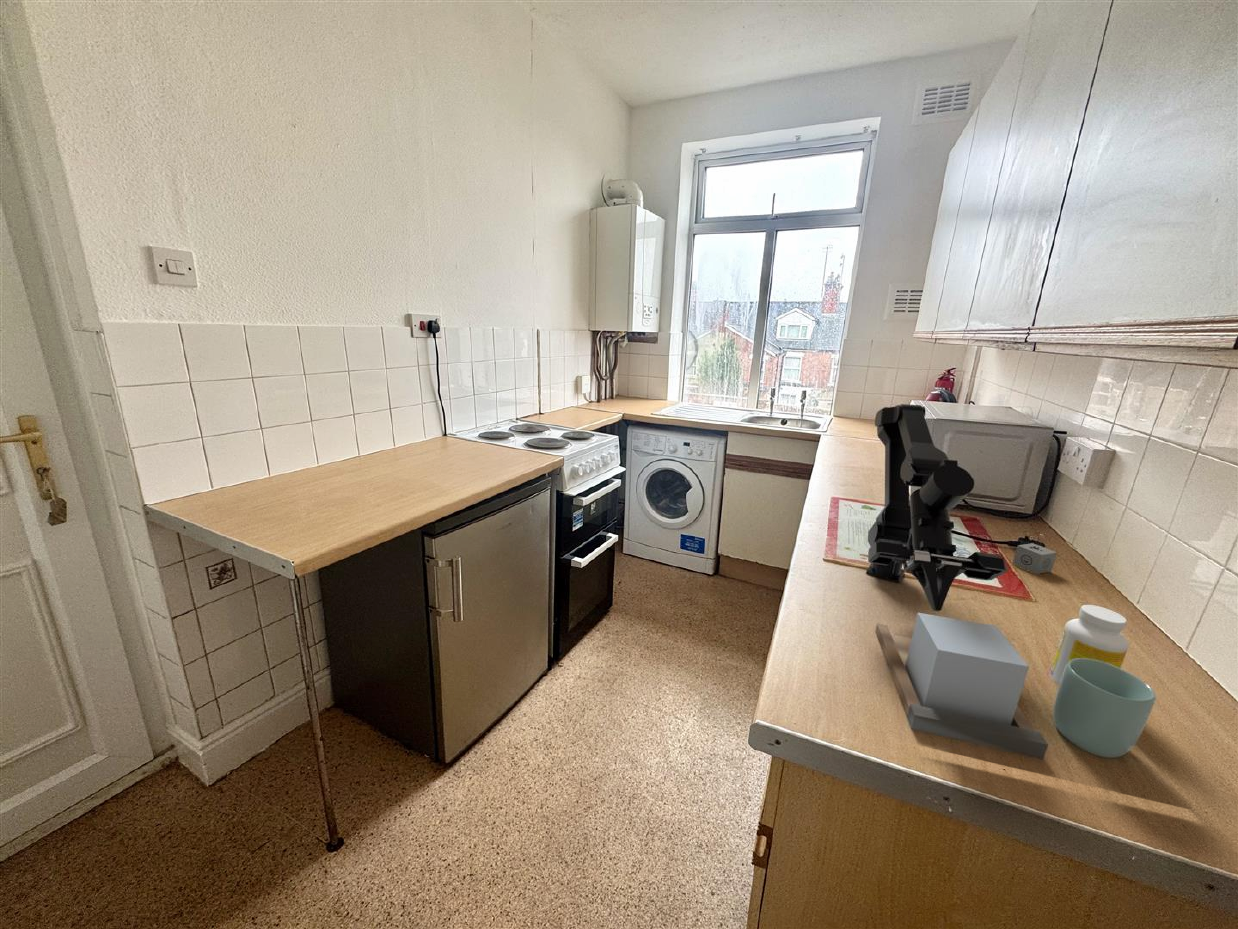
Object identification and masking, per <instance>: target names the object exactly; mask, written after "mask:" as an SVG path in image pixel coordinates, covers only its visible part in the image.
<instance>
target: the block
mask: <svg viewBox="0 0 1238 929" xmlns="http://www.w3.org/2000/svg"><path fill="white" fill-rule="evenodd" d="M911 638H912V639H911V643H910V647H909V652H908V656H907V660H906V665H905V669H906V671H907V674H908V676H909V679H910V681H911V683H912V686H913V688H914V690H915V693H916V695H917V698H918V700H919V702H920V705H921V706H923V707H928V708H932V709H937V710H941V711H946V712H951V713H955V714H960V715H964V716H969V717H974V718H978V719H983V720H987V721H992V722H997V723H1001V724H1006V725H1010V726H1011V723H1012V720H1013V717H1014V713H1015V710H1016V707H1017V705H1018V703H1019V700H1020V697H1021V693H1022V691H1023V687H1024V684H1025V681H1026V678H1027V674H1028V672H1029V668H1030V666H1029V664H1028V663H1027V662H1026V661H1025V659H1024V658H1023V657H1022V656H1021V655H1020V653H1019V652H1018V651H1017V650H1016V648H1015V647H1014V646H1013V645H1012V643H1011V642H1010V641H1009V640H1008V638H1007V637H1006V636H1005V634H1004V633H1003V632H1002V631H1001V630H1000V628H999V627H998V626H997V625H993V624H987V623H981V622H975V621H971V620H970V621H969V620H963V619H959V618H954V617H953V618H952V617H947V616H941V615H934V614H930V613H929V614H928V613H922V612H917V613H916V617H915V622H914V626H913V631H912V634H911Z"/></svg>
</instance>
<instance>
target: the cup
mask: <svg viewBox="0 0 1238 929" xmlns="http://www.w3.org/2000/svg"><path fill="white" fill-rule="evenodd" d="M1156 699H1157V698H1156V693H1155V691H1154V690H1153V688H1152V687H1151V686H1150V685H1148V683H1146V682H1145V681H1143V680H1142V679H1141V678H1139V677H1137V676H1136V675H1134V674H1132V673H1130V672H1128V671H1126V670H1125V669H1123V668H1121V669H1120V668H1118V667H1116V666H1113V665H1111V664H1108V663H1105V662H1102V661H1098V660H1094V659H1087V658H1077V659H1073V660H1070V661H1069V662H1068V663H1067V665H1066V667H1065V669H1064V672H1063V675H1062V678H1061V681H1060V684H1059V685H1058V687H1057V691H1056V695H1055V699H1054V703H1053V721H1054V724H1055V727H1056V729H1057V730H1058V732H1059V733H1060V734H1061V735H1062V736H1063V737H1064V738H1066V739H1067V741H1069V742H1070V743H1072V744H1073V745H1075V746H1076V747H1078V748H1079V749H1081V750H1083V751H1085V752H1088V753H1090V754H1092V755H1095V756H1098V757H1102V758H1108V759H1109V758H1110V759H1112V758H1114V759H1115V758H1119V757H1121V756H1124V755H1125V754H1127V753H1128V752H1129V751H1131V749H1133V747H1134V746H1135V745H1136V743H1137V742H1138V740H1139V738H1140V737H1141V735H1142V733H1143V731H1144V729H1145V727H1146V724H1147V722H1148V720H1149V717H1150V714H1151V712H1152V709H1153V708H1154V704H1155V701H1156Z"/></svg>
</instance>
